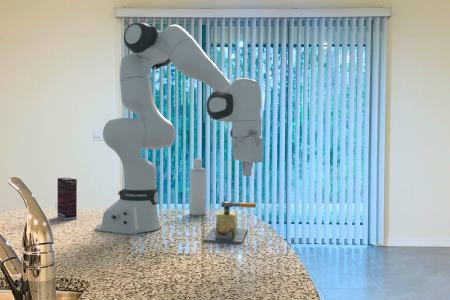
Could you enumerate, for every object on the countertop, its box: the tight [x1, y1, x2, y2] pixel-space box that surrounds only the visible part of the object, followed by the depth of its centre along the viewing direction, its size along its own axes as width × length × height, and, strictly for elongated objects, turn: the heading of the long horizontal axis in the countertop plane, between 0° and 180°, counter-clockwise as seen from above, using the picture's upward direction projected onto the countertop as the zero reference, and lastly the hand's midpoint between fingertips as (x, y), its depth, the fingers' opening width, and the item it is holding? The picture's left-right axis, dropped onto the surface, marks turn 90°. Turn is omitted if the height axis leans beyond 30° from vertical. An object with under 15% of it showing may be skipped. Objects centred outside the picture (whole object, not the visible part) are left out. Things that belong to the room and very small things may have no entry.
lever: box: [220, 200, 257, 209], centre depth 126 cm, size 11×4×1 cm, turn 81°
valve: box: [202, 207, 248, 245], centre depth 127 cm, size 12×17×10 cm
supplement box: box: [56, 177, 78, 221], centre depth 154 cm, size 9×5×16 cm, turn 43°
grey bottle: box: [189, 158, 207, 216], centre depth 165 cm, size 7×7×25 cm
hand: (247, 175), depth 119 cm, fingers closed
